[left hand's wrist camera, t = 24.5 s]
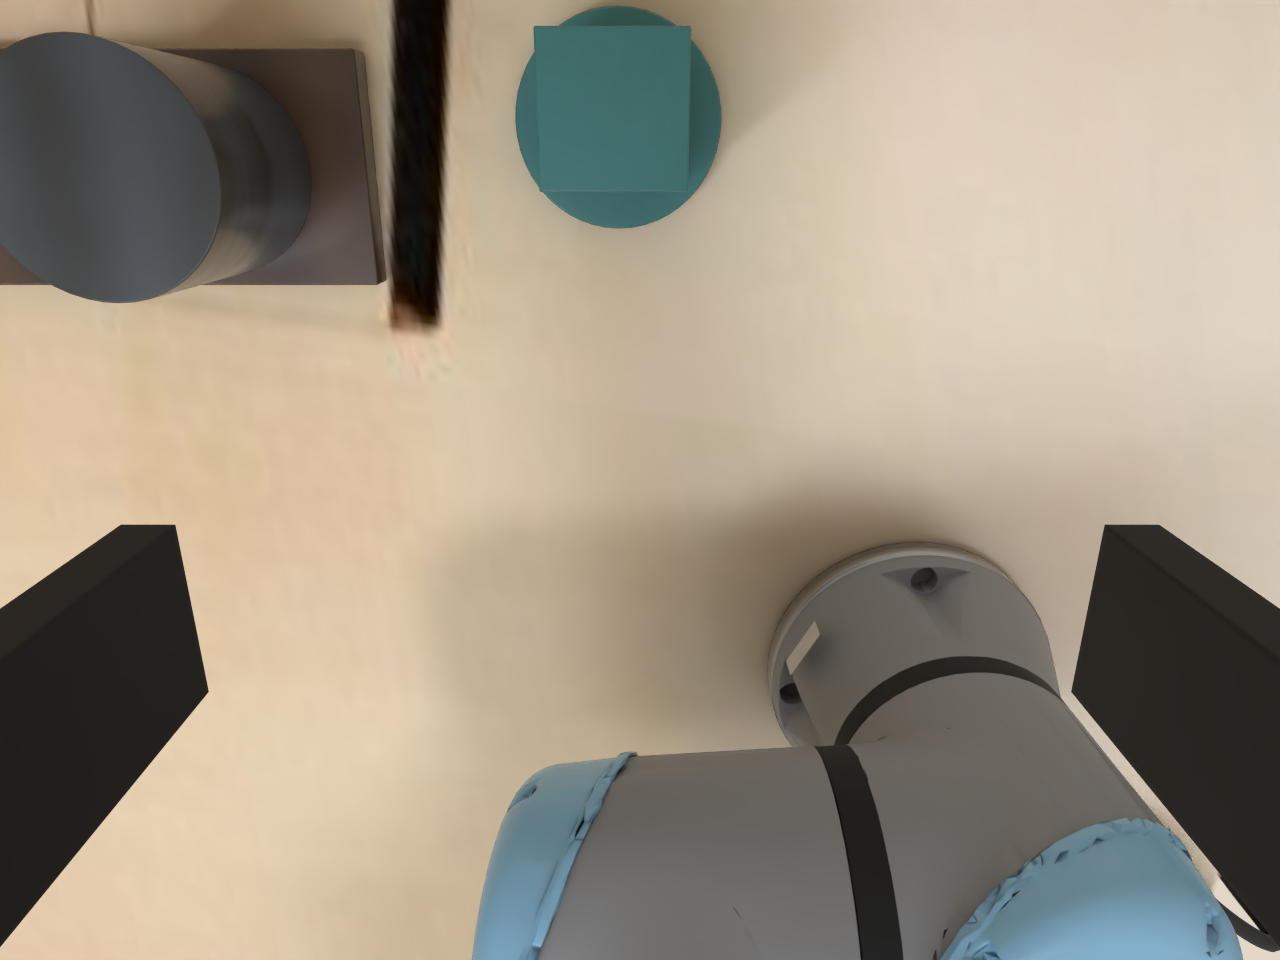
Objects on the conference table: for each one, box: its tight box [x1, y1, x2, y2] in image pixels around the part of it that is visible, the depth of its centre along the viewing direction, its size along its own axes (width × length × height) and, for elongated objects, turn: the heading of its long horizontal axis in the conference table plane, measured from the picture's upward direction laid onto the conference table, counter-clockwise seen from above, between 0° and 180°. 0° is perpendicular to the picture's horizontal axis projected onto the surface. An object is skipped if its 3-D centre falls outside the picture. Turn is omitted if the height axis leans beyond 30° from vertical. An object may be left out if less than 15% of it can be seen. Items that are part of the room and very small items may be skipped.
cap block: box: [516, 6, 721, 228], centre depth 35 cm, size 9×9×9 cm
